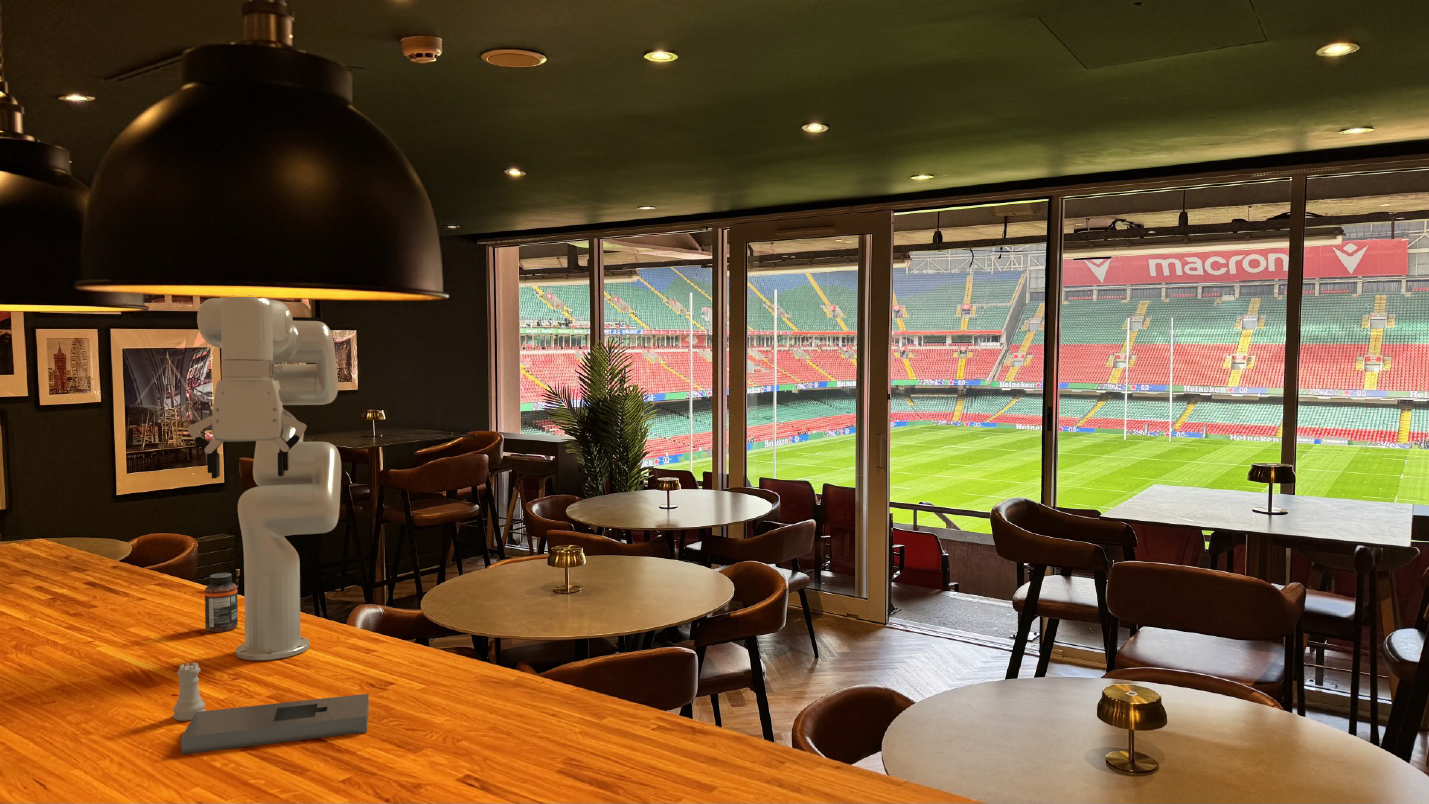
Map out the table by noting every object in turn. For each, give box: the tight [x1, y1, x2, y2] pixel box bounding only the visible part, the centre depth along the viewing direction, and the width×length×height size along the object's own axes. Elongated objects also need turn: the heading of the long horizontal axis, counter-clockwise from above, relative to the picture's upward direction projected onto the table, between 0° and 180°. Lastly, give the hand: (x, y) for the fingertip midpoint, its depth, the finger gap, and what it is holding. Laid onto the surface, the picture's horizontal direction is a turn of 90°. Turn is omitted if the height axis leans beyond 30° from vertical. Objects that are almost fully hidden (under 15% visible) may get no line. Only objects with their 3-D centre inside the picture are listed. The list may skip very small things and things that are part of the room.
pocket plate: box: [180, 693, 370, 755], centre depth 135 cm, size 10×24×2 cm, turn 109°
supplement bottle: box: [204, 572, 239, 633], centre depth 188 cm, size 6×6×11 cm
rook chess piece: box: [172, 662, 207, 722], centre depth 140 cm, size 4×4×8 cm
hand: (248, 476), depth 148 cm, fingers open, 9 cm apart
